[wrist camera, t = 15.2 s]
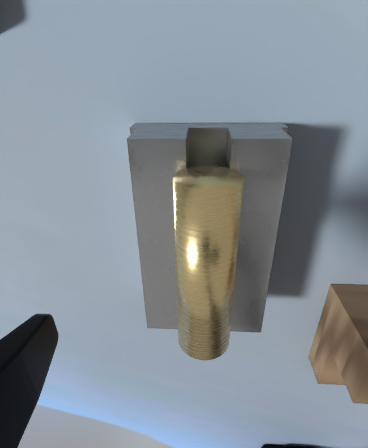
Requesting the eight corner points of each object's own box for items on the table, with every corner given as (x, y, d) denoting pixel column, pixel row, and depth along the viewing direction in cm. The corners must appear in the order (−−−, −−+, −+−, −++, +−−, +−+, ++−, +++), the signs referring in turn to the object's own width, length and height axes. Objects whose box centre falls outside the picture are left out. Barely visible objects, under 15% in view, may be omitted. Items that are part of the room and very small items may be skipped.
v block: (257, 292, 21) (267, 332, 18) (150, 289, 22) (141, 327, 19) (282, 122, 16) (302, 138, 12) (134, 123, 16) (118, 138, 13)
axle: (229, 320, 18) (228, 363, 16) (182, 315, 19) (173, 356, 16) (243, 167, 13) (244, 192, 11) (179, 164, 14) (166, 188, 11)
